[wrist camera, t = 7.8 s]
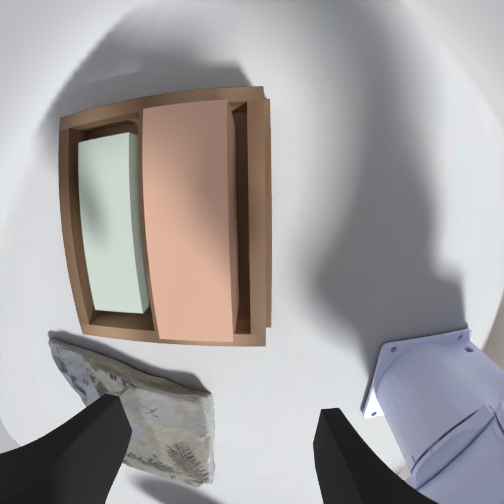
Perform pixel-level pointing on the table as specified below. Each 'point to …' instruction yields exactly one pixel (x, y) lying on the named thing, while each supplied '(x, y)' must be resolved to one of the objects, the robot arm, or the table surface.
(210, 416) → the fossil rock
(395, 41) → the table surface
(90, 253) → the glazed tile
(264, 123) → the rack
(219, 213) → the clay bar
